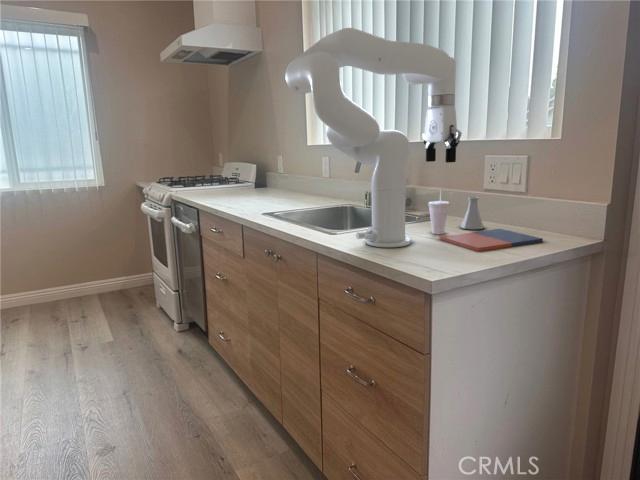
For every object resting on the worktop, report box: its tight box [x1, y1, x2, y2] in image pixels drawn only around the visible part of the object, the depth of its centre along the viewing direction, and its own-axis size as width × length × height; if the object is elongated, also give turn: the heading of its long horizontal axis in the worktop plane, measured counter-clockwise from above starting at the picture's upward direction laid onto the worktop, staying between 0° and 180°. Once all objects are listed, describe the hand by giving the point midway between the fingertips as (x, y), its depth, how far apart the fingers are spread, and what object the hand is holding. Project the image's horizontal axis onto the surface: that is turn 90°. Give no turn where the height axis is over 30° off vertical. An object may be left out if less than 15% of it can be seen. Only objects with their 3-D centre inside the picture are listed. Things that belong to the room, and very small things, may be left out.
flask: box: [460, 196, 484, 230], centre depth 140 cm, size 7×7×10 cm
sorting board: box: [440, 228, 544, 252], centre depth 122 cm, size 22×16×1 cm
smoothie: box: [427, 187, 450, 235], centre depth 134 cm, size 6×6×14 cm
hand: (440, 161), depth 130 cm, fingers open, 9 cm apart
